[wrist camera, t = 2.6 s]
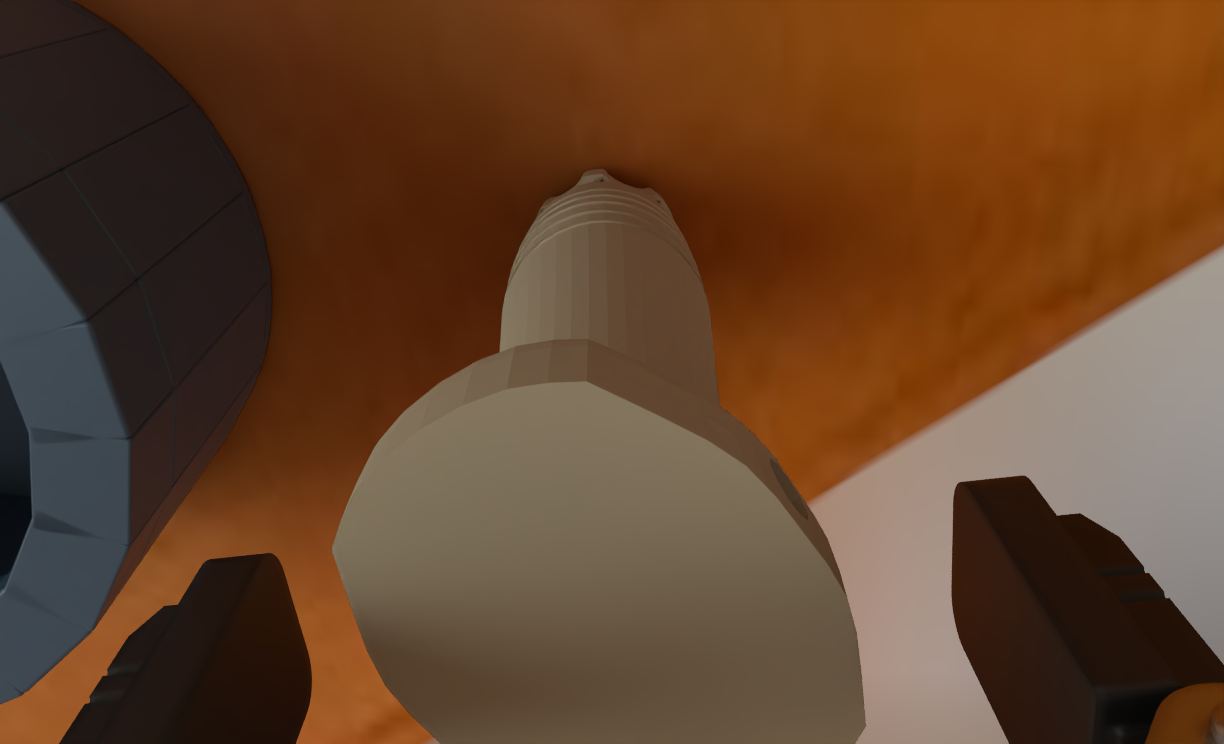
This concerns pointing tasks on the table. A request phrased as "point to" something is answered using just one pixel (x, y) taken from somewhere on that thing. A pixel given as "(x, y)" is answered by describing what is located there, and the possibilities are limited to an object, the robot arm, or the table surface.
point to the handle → (597, 521)
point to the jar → (108, 318)
